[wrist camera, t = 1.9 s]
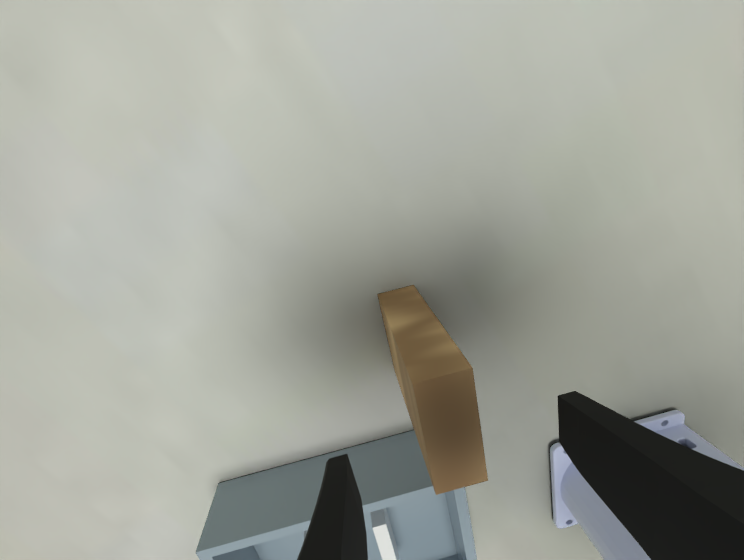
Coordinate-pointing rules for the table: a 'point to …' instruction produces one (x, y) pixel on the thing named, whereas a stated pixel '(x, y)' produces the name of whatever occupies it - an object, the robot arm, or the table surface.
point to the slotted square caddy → (379, 500)
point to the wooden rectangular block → (435, 390)
